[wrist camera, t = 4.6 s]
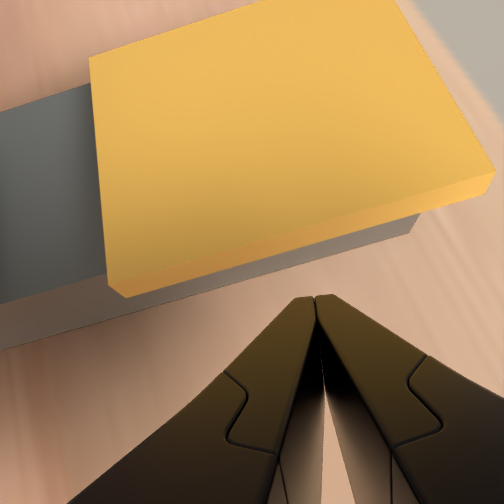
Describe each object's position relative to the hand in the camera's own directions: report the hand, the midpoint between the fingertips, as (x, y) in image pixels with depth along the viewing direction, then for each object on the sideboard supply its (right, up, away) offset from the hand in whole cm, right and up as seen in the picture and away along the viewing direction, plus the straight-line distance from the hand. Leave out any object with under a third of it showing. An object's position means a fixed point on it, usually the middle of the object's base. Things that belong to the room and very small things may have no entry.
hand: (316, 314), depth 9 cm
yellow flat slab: (-1, +6, +7) cm, 9 cm away
